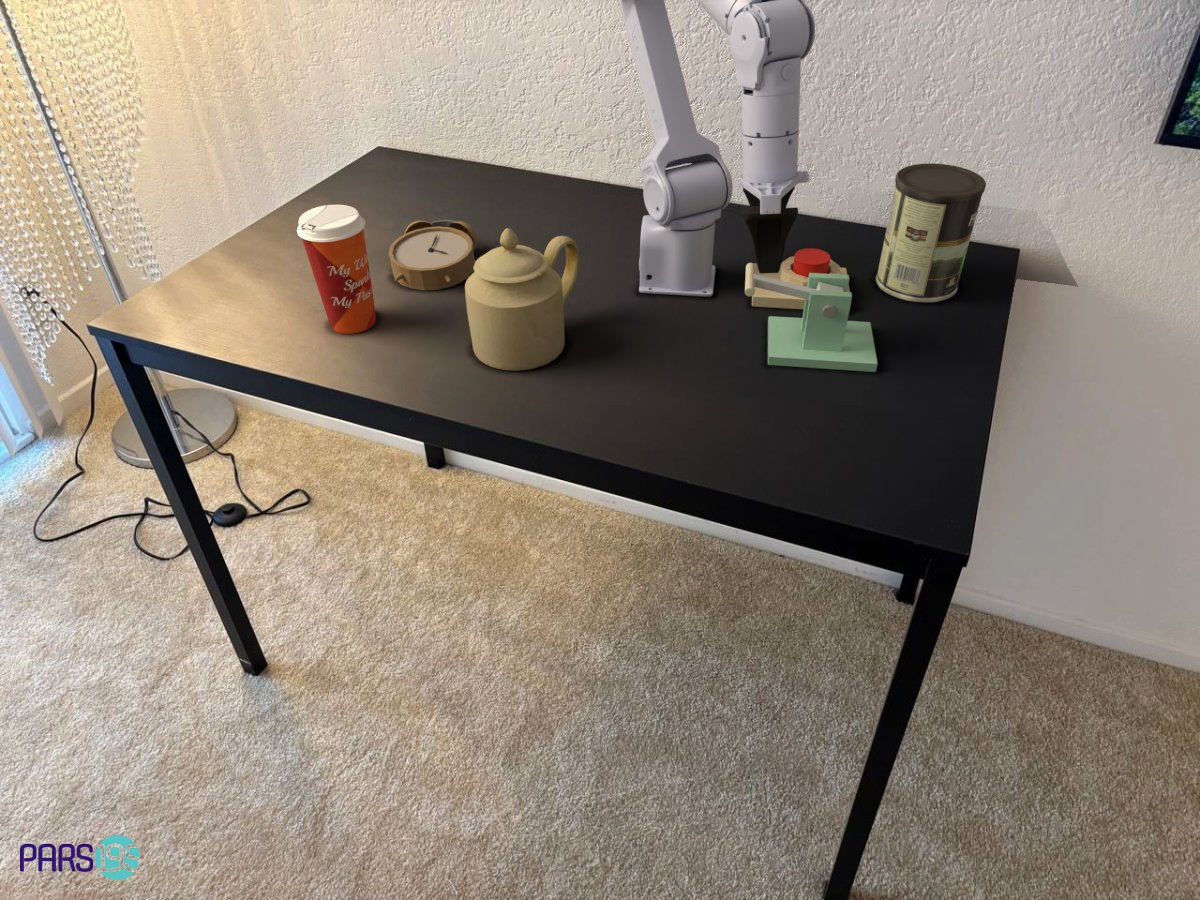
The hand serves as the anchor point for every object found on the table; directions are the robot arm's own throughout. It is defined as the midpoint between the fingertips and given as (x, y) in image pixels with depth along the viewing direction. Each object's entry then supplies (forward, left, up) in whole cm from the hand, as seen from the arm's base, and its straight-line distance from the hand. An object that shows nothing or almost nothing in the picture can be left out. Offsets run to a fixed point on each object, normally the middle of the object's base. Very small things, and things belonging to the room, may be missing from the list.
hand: (768, 259), depth 95 cm
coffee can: (+20, +17, -11) cm, 28 cm away
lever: (+3, 0, -5) cm, 5 cm away
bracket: (+7, 0, -11) cm, 13 cm away
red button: (+6, +13, -8) cm, 16 cm away
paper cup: (-50, -1, -11) cm, 51 cm away
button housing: (+5, +13, -11) cm, 17 cm away
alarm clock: (-44, +15, -11) cm, 48 cm away
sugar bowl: (-28, -2, -11) cm, 30 cm away
